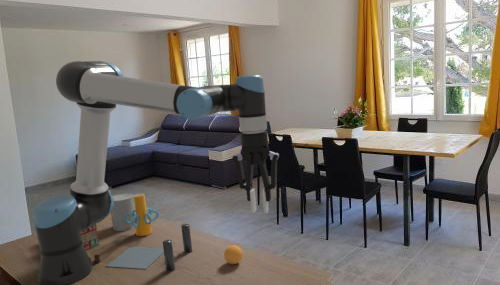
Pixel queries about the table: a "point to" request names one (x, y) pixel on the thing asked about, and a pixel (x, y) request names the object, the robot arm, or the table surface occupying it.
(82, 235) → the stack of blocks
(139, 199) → the cylinder
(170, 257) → the post
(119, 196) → the white tapered bucket
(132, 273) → the table surface
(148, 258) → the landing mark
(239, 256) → the ball
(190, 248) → the post
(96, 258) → the stopper wall
